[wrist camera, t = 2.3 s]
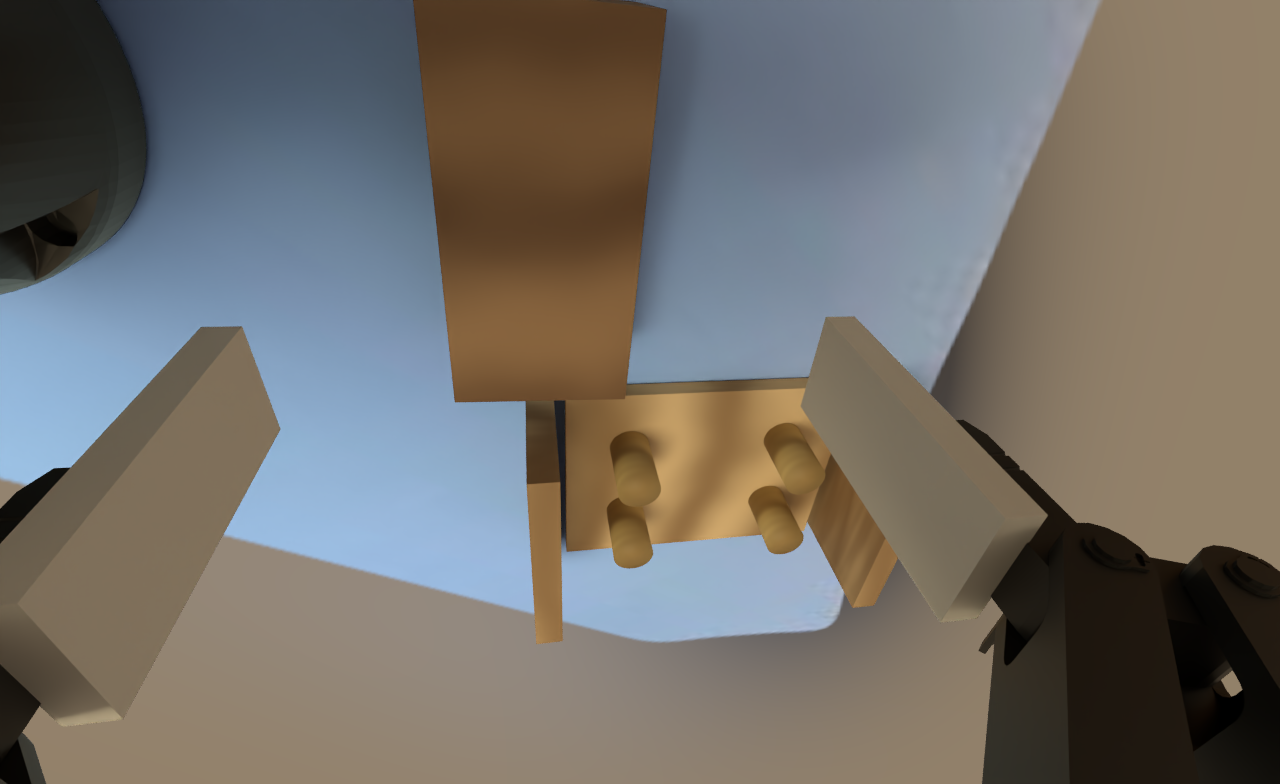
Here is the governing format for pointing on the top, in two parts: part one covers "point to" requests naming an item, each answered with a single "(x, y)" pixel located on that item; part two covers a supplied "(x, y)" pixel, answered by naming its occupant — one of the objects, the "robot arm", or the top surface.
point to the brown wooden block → (539, 187)
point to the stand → (692, 483)
